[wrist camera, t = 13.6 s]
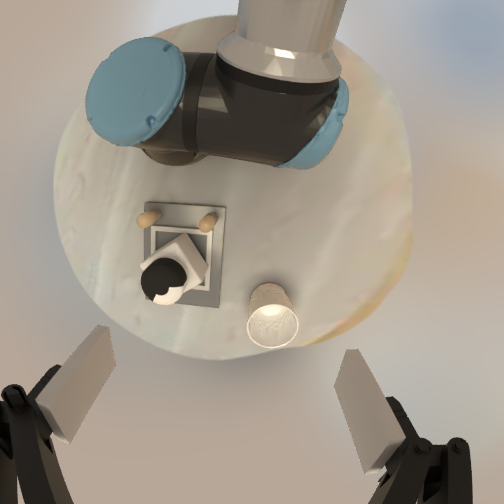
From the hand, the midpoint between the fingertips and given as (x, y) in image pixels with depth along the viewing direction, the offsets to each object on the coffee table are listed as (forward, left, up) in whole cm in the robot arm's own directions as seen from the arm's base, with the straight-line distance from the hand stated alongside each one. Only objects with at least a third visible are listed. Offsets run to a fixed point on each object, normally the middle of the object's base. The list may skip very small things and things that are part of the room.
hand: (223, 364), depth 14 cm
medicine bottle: (+5, -10, -33) cm, 35 cm away
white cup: (+12, +6, -35) cm, 37 cm away
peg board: (+5, -10, -35) cm, 36 cm away
